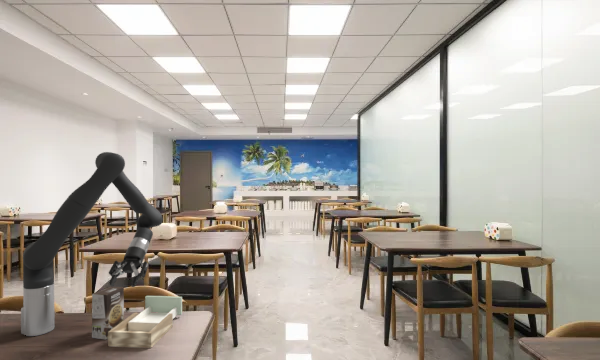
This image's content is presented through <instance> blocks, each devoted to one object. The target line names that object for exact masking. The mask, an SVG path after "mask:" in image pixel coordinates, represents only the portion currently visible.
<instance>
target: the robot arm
mask: <svg viewBox="0 0 600 360" xmlns="http://www.w3.org/2000/svg"><path fill="white" fill-rule="evenodd" d="M94 161H95V162H94V163H95V168H96V169H95V171H94V173H92V174H91V176H90V177H89V179H87V180H86V181H85V182H84V183H83V184H81V185H80V186H78V187H77V188H76V189H75V190H74V191H72V192H71V194H69V195H68V197H67V198H66V199H65V201H64V202H63V203H62V204H61V205H60V207H59V208H58V210H57V211H56V213H55V215H54V216H53V218H52V220H51V222H50V223H49V225H48V227H47V228H46V229H45V230H44V232H43V233H42V234H41V236H40V237H39V238H38V239H37V240H36V241H35V242H32V243H29V244H28V245H27V246H26V247H25V248H24V250H23V252H22V268H23V270H22V272H23V273H22V283H23V285H22V287H23V288H22V290H23V293H22V294H23V300H22V302H23V306H22V307H21V309H20V334H21V335H24V336H25V335H26V337H34V336H35V337H36V336H41V335H44V334H47V333H50V332H52V331H53V330H54V329H55V326H56V325H55V269H54V268H55V267H54V259H55V257H56V256H57V254H58V252H59V251H60V250H61V247H62V246H63V244H64V243H65V241H66V240H67V239H68V238H69V236H70V235H71V234H72V233H73V232H74V231H75V230H76V229H77V227H78V226H79V225H80V224H81V223H82V221H83V220H85V218H86V217H87V216H88V214H89V213H90V211H91V210H92V209H93V208H94V206H95V204H96V203H97V202H98V201H99V199H100V198H101V197H102V196H103V194H104V193H105V191H106V190H107V189H108V187H109V186H110V185H111V184H112V185H113V186H115V188H116V189H117V191H118V192H119V193H120V195H121V196H122V197H123V198H124V200H125V202H126V203H127V204H128V205H129V207H130V209H132V211H133V212H134V213H136V214H140V215H139V217H138V218H137V224H136V229H135V230H136V232H135V234H134V236H133V238H132V240H131V241H130V243H129V246H128V247H127V249H126V252H125V254H124V257H123V260H122V261H121V262H120V261H118V260H115V261H113V264H112V265H111V267H110V269H109V271H108V275H109V276H111V277H110V280H109V282H108V284H109V286H110V287H115V285H116V282H117V280H118V278H119V277H120V276H122V275H124V274H129V273H130V274H134V276H133V278H132V280H131V282H130V286H131V287H132V288H134V287H136V286H137V285H138V282H139V279H140V278H145V277H146V275H147V271H148V268H149V263H148V262H147V261H144V260H145V257H146V254H147V252H148V250H149V245H150V243H151V241H152V238H153V236H154V232H153V231H152V230H151V229H152V228H155V227H158V226H161V225H162V223H163V220H164V219H163V215H162V213H161V212H160V210H158V209H157V208H156V207H155V206H153V205H152V204H151V203H149V201H148V200H147V199H146V197H145V196H144V194H143V193H142V192H141V190H140V189H139V188H138V187H137V186H136V185H135V184H134V183H133V182H132V181H131V180H130V179H129V178H128V176H127V175H126V174H125V172H124V169H125V167H126V166H125V165H126V161H125V159H124V157H123V156H122V155H120V154H119V153H115V152H111V151H105V152H104V151H103V152H101V153H99V154H98V155H97V156H96V157H95V160H94ZM150 228H151V229H150ZM139 269H140V272H139Z"/></svg>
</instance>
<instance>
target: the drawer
mask: <svg viewBox="0 0 600 360" xmlns="http://www.w3.org/2000/svg"><path fill="white" fill-rule="evenodd" d="M144 299H145V301H144V303H145V304H144V307H145V308H144V310H142V311H141V312H140V313H138V315H137V316H136V317H134V318H133V319H132V320H131V321H129V322H128V331H151V330H152V329H153V328H154V327H155V326H156V325H157V324H159V323H160V322H161V321H162V320H163V319H164V318H165V317H166V316H167V315H168V314H169V313H170V314H173V320H174V319H175V318H176V317H177V316H182V315H183V296H170V295H167V296H166V295H146V296H145V297H144ZM151 312H158V313H151ZM168 312H169V313H168Z"/></svg>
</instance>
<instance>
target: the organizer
mask: <svg viewBox="0 0 600 360" xmlns="http://www.w3.org/2000/svg"><path fill="white" fill-rule="evenodd" d="M138 314H139V313H138V312H133V313H132V314H131V315H129V316H128V317H126V318H125V319H124V321H122V322H121V323H120V324H118V325H117V326H116V327H114V328H113V329H111V330H110V331H109V332H108V339H107V345H108V346H107V347H114V348H115V347H116V348H138V349H139V348H143V349H144V348H145V349H152V348H153V346H155V345H156V344H157V343H158V342H159V341H160V340H161V339H162V338H163V336H165V335H166V334H167V332H169V331H170V330H171V328H173V322H174V321H173V320H174V319H173V314H170V313H169V314H168V315H167V316H166V317H165V318H164V319H163V320H162V321H161V322H160V323H159V324H157V325H156V326H155V327H154V328H153V329H152V330H151V331H128V322H129V321H131V320H132V319H133V318H134V317H136V316H137V315H138Z"/></svg>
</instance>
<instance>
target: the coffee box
mask: <svg viewBox="0 0 600 360" xmlns="http://www.w3.org/2000/svg"><path fill="white" fill-rule="evenodd" d="M124 291H125V288H124V286H108V287H106V288H103V289H101V290H99V291H95V292H94V293H93V292H92V294H91V295H92V296H91V299H92V300H91V301H92V302H91V327H92V328H91V338H92V339H98V340H108V332H109V331H110V330H111V329H113V328H114V327H116V326H117V325H118V324H120V323H121V322H122V321H124V320H125V319H124V317H125V316H124V315H125V309H124V308H125V307H124V306H125V299H124V298H125V297H124V296H125V295H124V294H125V292H124Z"/></svg>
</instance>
